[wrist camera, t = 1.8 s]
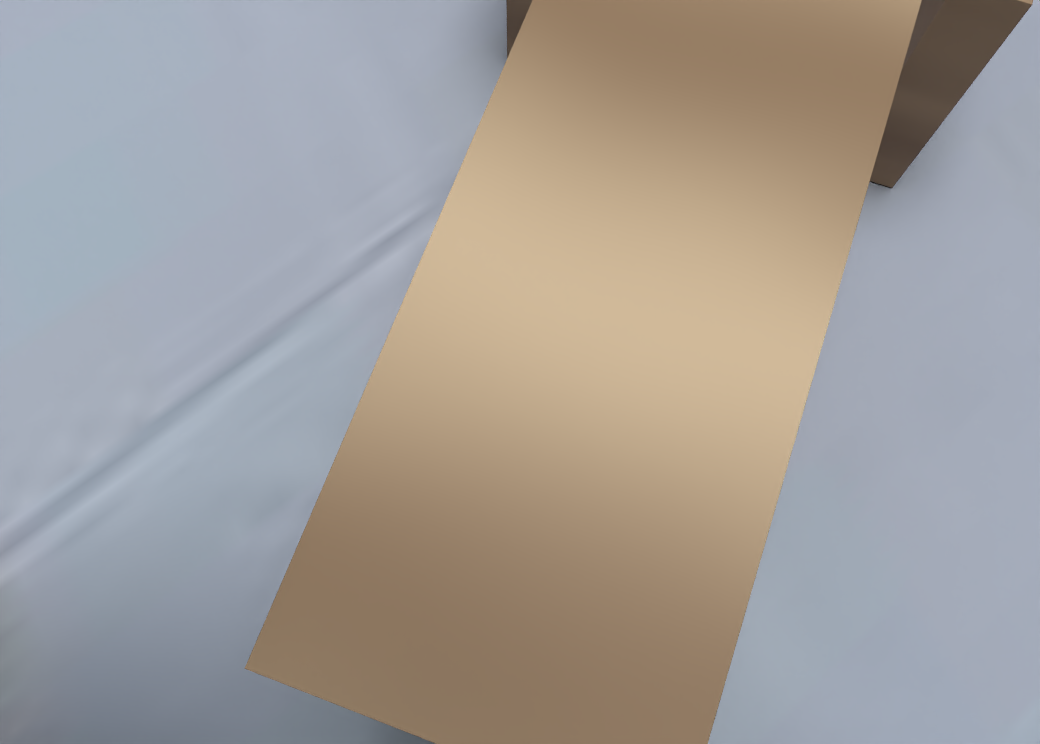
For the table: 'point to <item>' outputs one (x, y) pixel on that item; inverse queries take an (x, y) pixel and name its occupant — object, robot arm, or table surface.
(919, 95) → the end cap
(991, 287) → the table surface
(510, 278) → the tan wooden block
